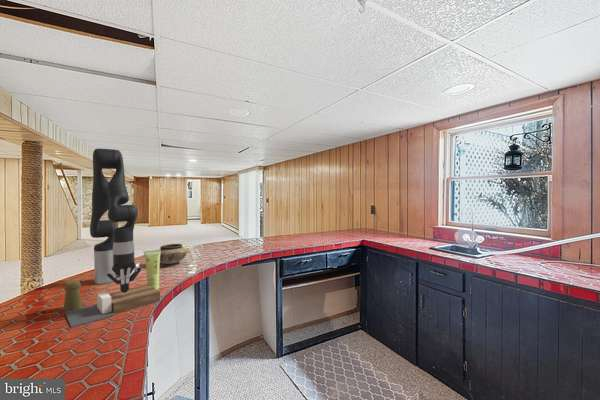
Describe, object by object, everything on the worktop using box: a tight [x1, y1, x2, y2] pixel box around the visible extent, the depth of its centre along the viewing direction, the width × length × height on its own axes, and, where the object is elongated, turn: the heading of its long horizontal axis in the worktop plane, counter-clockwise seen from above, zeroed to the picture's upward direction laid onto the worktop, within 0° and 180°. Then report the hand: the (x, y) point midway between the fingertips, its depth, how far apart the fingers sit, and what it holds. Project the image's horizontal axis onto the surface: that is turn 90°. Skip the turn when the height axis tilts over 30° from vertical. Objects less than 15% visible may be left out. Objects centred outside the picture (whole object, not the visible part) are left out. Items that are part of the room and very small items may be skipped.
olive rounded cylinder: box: [62, 280, 83, 312], centre depth 109 cm, size 6×6×11 cm
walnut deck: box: [108, 284, 161, 315], centre depth 114 cm, size 14×17×4 cm
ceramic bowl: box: [152, 243, 192, 267], centre depth 175 cm, size 24×18×15 cm
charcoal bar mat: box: [64, 303, 116, 329], centre depth 103 cm, size 17×13×1 cm
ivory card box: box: [96, 290, 112, 314], centre depth 107 cm, size 9×6×3 cm
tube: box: [143, 249, 161, 290], centre depth 130 cm, size 6×5×20 cm
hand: (124, 292), depth 112 cm, fingers closed
